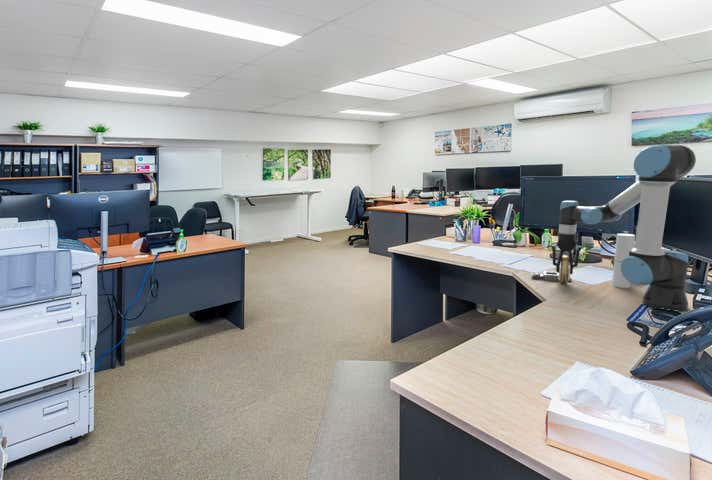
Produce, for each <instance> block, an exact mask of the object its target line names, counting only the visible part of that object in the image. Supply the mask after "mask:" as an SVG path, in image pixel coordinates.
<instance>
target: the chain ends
mask: <svg viewBox="0 0 712 480" xmlns="http://www.w3.org/2000/svg"><path fill="white" fill-rule="evenodd" d="M531 278H532V279H533V280H541V279H542V280H544V281H550V282H551V281H552V282H560V280H558V273H557V272H556V271H545V270H544V271H543V273H540V272H532V273H531ZM568 282H570V283H571V282H572V276H571V275H570V281H568Z"/></svg>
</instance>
